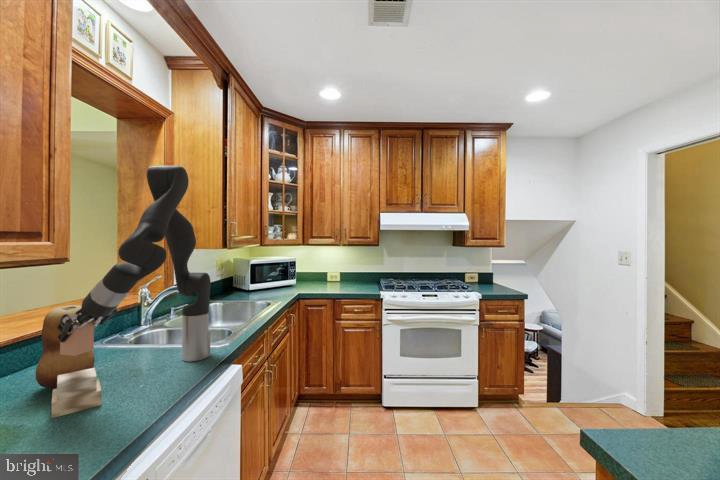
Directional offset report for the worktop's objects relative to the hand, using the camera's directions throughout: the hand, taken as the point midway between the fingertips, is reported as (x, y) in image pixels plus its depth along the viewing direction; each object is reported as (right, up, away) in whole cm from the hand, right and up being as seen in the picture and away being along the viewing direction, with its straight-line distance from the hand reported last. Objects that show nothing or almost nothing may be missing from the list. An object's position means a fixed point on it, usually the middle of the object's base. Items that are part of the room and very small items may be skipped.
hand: (71, 336), depth 89 cm
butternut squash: (-11, -19, +11) cm, 25 cm away
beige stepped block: (+2, -19, 0) cm, 19 cm away
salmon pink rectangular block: (+2, -4, 0) cm, 5 cm away
